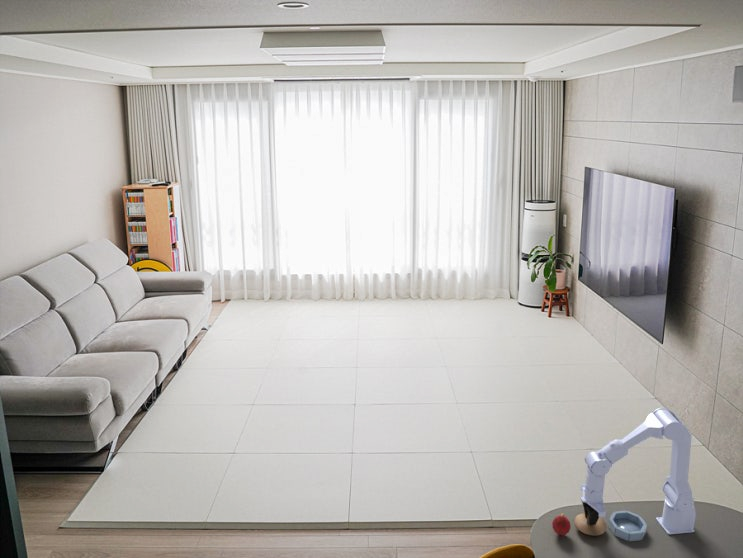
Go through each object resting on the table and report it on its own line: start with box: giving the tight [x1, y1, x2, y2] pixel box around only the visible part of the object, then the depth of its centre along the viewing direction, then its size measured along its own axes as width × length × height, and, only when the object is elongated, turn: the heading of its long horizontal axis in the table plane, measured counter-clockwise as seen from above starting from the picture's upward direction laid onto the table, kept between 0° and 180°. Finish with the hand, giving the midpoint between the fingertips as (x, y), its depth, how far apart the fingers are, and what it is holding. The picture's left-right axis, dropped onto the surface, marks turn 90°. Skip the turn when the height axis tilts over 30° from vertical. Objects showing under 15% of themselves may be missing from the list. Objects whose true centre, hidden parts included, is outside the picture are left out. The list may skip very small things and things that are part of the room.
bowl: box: [608, 510, 648, 542], centre depth 217 cm, size 11×11×3 cm
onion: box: [551, 513, 571, 536], centre depth 214 cm, size 6×6×8 cm
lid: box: [574, 512, 607, 537], centre depth 216 cm, size 10×10×4 cm
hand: (590, 520), depth 217 cm, fingers closed on lid, 2 cm apart
